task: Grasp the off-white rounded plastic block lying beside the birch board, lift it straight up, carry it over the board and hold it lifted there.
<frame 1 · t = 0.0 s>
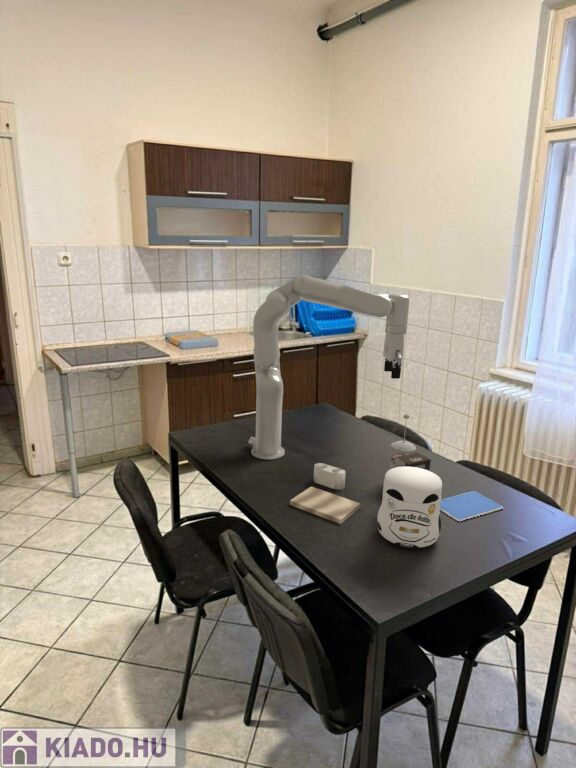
hand: (391, 374, 198), 31 cm above the table, tool pointing down, fingers open, 9 cm apart
coffee box: (407, 505, 168), on the table
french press: (401, 483, 183), on the table
rounded block: (328, 483, 180), on the table
blue flat pad: (466, 508, 169), on the table
doce de leite jar: (407, 537, 151), on the table
birch board: (324, 506, 165), on the table
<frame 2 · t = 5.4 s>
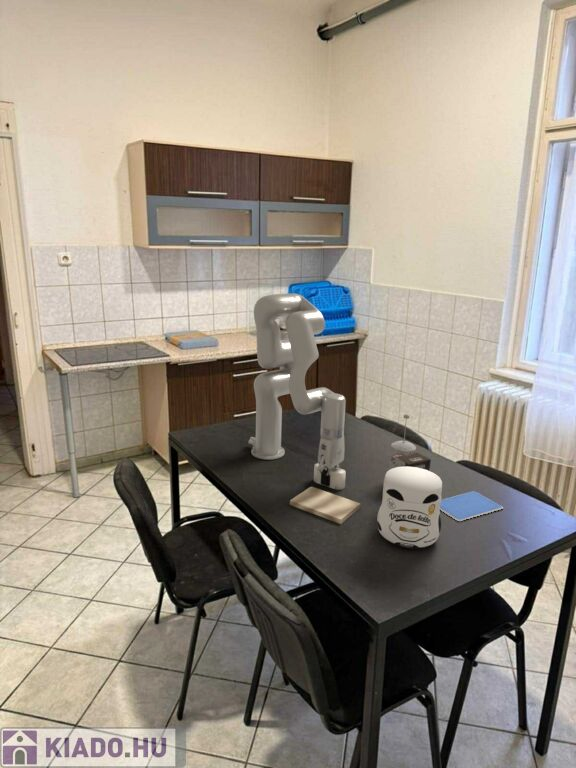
hand: (329, 481, 180), 1 cm above the table, tool pointing down, fingers closed on rounded block, 4 cm apart
rounded block: (328, 483, 180), on the table, touching gripper
everything else where it was.
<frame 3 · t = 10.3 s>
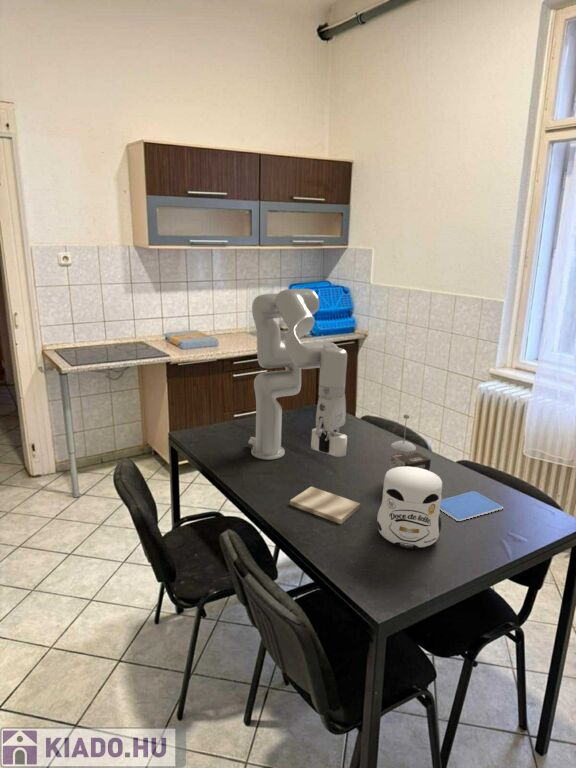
hand: (328, 448, 160), 19 cm above the table, tool pointing down, fingers closed on rounded block, 4 cm apart
rounded block: (328, 450, 160), point 19 cm above the table, touching gripper
everything else where it was.
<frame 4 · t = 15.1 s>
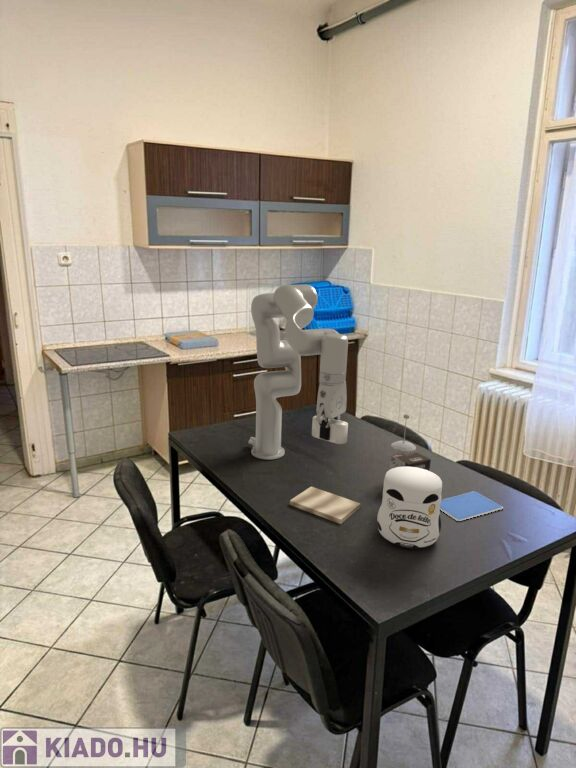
hand: (329, 435, 159), 23 cm above the table, tool pointing down, fingers closed on rounded block, 4 cm apart
rounded block: (329, 438, 159), point 23 cm above the table, touching gripper
everything else where it was.
at the end: the gripper is holding rounded block; rounded block inside the target area on the birch board (0.0 cm from its centre), point 22.6 cm above the birch board's base; rounded block tilted 0° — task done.
